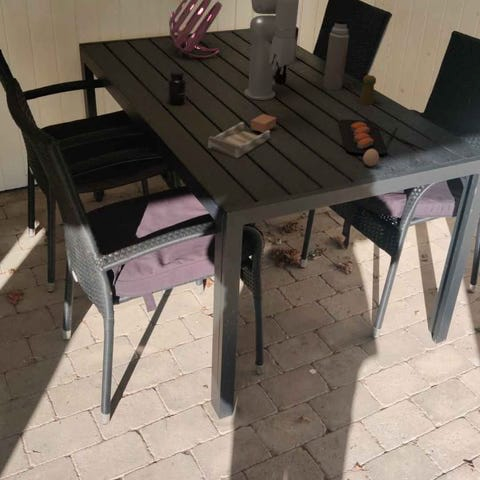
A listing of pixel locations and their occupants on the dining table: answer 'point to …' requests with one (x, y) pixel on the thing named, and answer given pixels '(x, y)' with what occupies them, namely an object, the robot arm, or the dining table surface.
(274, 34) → the robot arm
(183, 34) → the spiral basket
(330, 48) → the thermos bottle
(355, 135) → the sushi plate
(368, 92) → the pepper mill
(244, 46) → the dining table surface
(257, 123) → the brown rectangular block
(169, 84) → the supplement bottle
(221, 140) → the dock
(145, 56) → the dining table surface
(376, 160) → the egg
